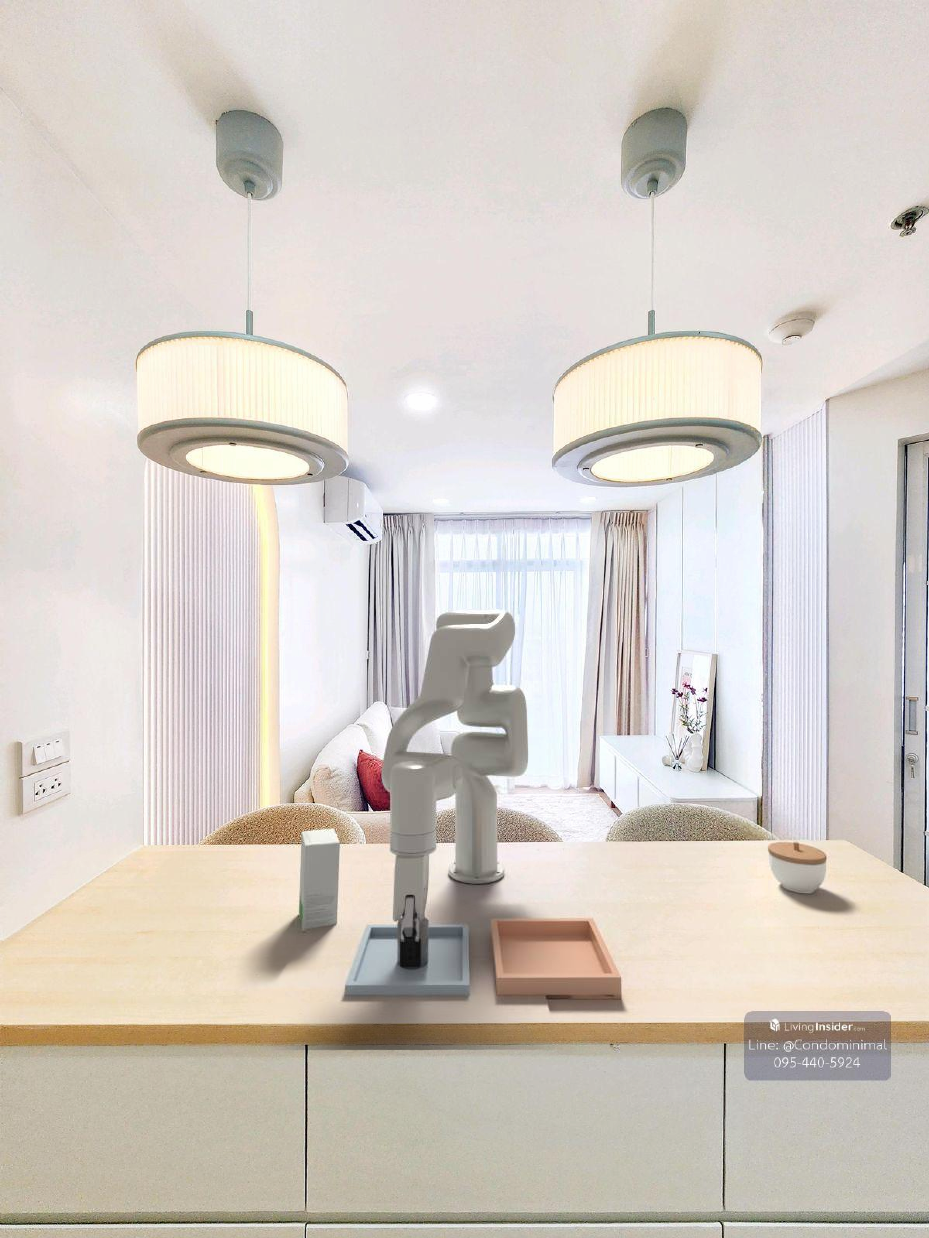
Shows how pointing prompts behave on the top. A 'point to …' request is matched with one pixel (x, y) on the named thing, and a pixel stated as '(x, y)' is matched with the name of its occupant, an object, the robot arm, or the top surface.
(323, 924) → the skincare box
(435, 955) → the parts tray
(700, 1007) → the top surface
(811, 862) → the lidded jar
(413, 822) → the robot arm
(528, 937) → the terracotta dish
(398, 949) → the gray metal cylinder
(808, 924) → the top surface
